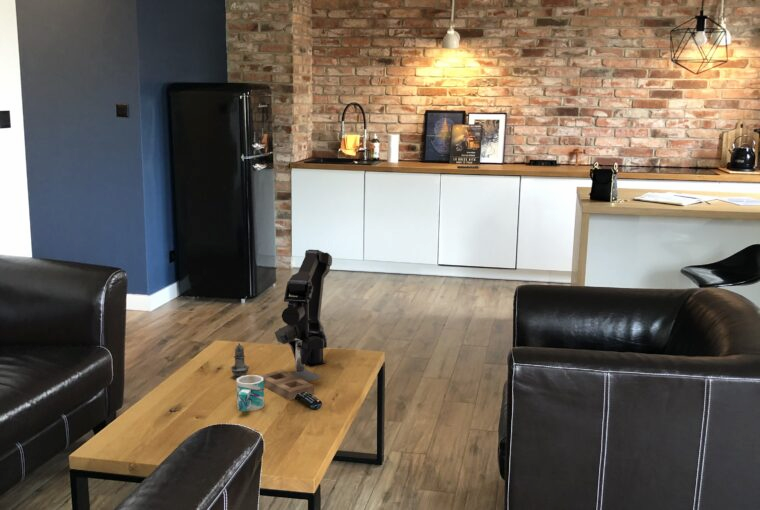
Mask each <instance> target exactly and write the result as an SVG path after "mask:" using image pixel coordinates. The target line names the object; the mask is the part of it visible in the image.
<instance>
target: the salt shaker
mask: <svg viewBox="0 0 760 510" xmlns="http://www.w3.org/2000/svg"><path fill="white" fill-rule="evenodd" d="M233 358H234V365H232V366H231V367H230V369H231V372H232V374H233V375H234V376H233V377H232V378H233V380H236V381H237V378H239V377H241V376H245V375H246V374H247V373H248V372H249V369H250V366H249V365H247V364H246V363H245V358H246V355H245V348H244V346H243V345H241V343H240V342H238V345H236V346H235V348H234V357H233Z"/></svg>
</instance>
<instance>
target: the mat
mask: <svg viewBox="0 0 760 510" xmlns="http://www.w3.org/2000/svg"><path fill="white" fill-rule="evenodd" d="M290 374H292V375H294V376H296V377H298V378H300V379H302V380H304V381H306V382H308V383H309V382H311V381H315V380H319V379H322V378H323V377H322V376H321V375H318V374H317V373H314V372H312V371H310V370H308V369H306V368H305V371H303V372H297V371H294V372H293V371H292V372H290Z"/></svg>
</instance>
